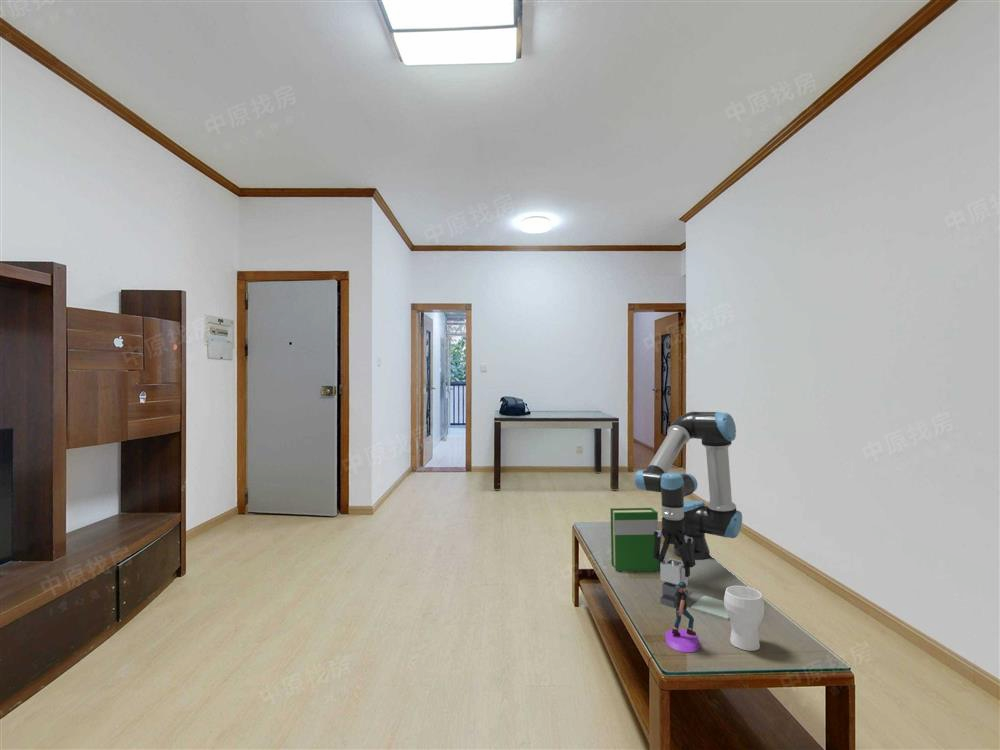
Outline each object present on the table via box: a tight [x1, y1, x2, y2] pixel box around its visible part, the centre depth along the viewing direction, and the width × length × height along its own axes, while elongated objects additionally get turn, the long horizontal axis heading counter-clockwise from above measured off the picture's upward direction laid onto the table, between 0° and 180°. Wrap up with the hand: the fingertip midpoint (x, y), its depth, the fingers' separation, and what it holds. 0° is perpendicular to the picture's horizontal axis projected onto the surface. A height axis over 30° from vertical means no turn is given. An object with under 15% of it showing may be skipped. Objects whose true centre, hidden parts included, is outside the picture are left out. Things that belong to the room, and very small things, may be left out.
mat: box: [690, 594, 730, 621], centre depth 164 cm, size 12×12×1 cm
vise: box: [659, 560, 689, 608], centre depth 172 cm, size 16×5×14 cm, turn 137°
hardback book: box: [610, 507, 660, 572], centre depth 201 cm, size 18×7×24 cm, turn 90°
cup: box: [723, 585, 765, 652], centre depth 142 cm, size 11×11×15 cm
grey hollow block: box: [659, 557, 684, 585], centre depth 171 cm, size 7×7×6 cm
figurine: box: [665, 582, 700, 653], centre depth 142 cm, size 9×9×18 cm
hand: (674, 582), depth 171 cm, fingers closed on grey hollow block, 7 cm apart
